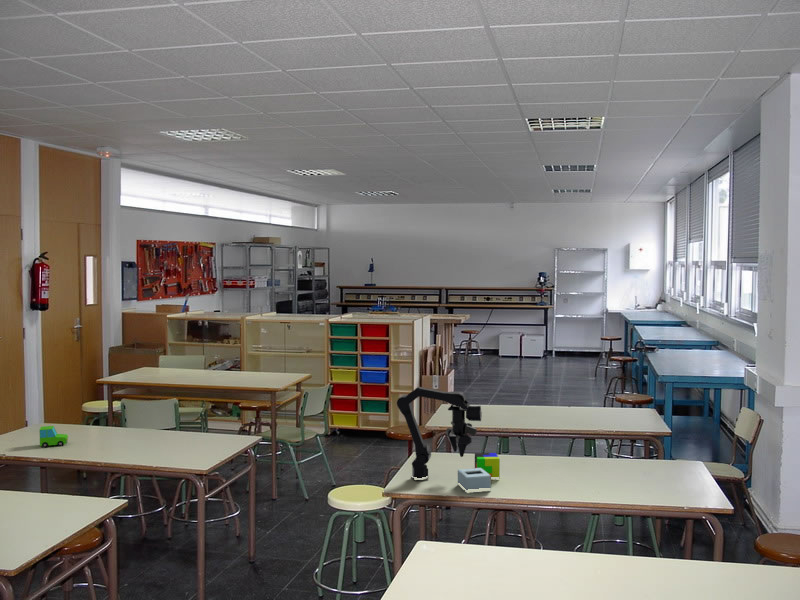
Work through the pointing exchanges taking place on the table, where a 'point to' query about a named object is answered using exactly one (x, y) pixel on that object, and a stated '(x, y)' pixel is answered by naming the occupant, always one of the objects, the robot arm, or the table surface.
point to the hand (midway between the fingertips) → (458, 454)
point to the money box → (474, 478)
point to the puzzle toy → (488, 463)
